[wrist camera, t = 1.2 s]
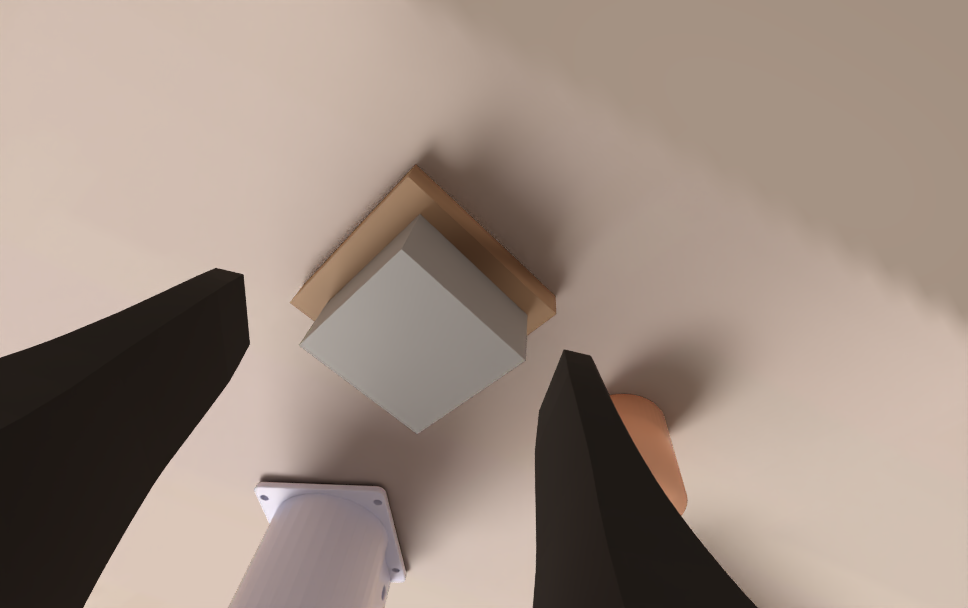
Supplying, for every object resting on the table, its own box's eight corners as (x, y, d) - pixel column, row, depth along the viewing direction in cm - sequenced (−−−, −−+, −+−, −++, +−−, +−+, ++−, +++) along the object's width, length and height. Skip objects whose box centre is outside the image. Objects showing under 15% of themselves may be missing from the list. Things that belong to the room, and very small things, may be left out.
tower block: (527, 315, 21) (525, 360, 19) (430, 385, 24) (417, 434, 21) (419, 213, 19) (401, 249, 17) (327, 303, 22) (299, 345, 19)
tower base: (555, 289, 23) (556, 314, 21) (436, 379, 26) (429, 407, 24) (418, 159, 20) (407, 176, 18) (307, 279, 24) (289, 302, 22)
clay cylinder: (659, 457, 27) (679, 536, 23) (574, 454, 27) (580, 531, 24) (671, 394, 24) (695, 470, 21) (577, 392, 25) (584, 466, 21)
